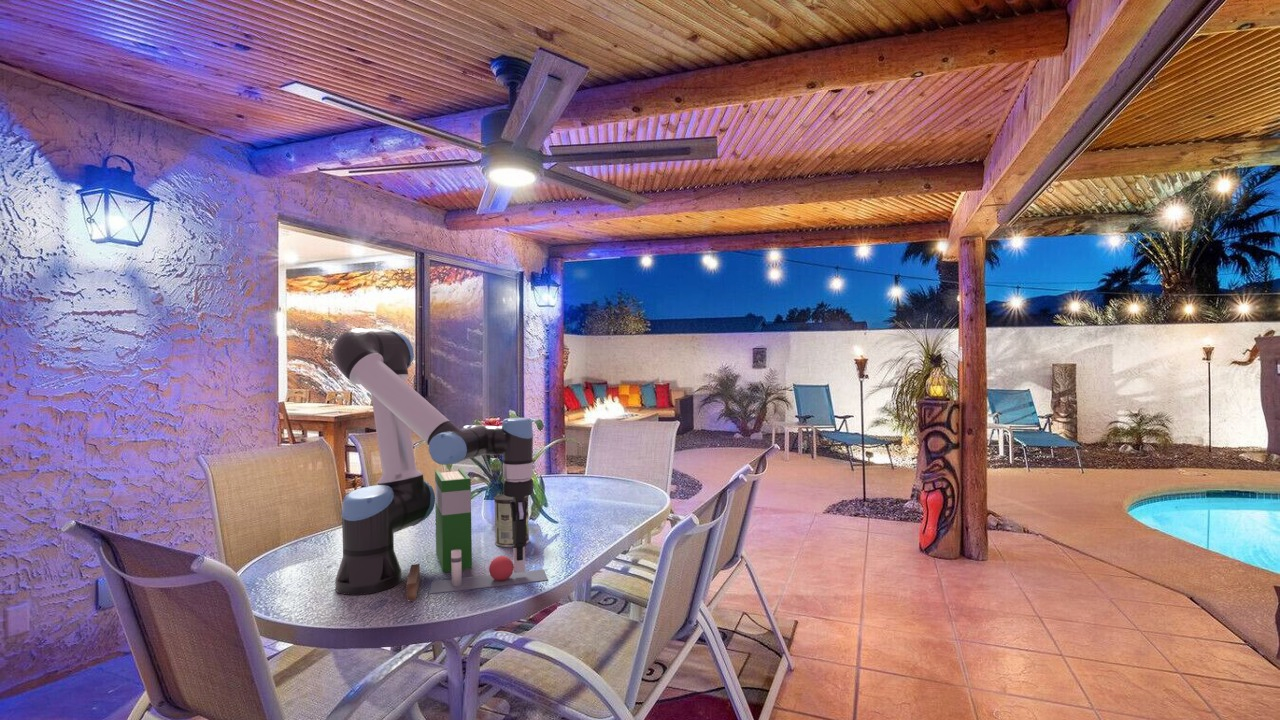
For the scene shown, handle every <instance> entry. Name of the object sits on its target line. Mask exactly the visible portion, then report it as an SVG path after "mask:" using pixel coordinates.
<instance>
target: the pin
mask: <svg viewBox="0 0 1280 720" xmlns="http://www.w3.org/2000/svg"><path fill="white" fill-rule="evenodd" d="M461 561H462V556H461V550H460V549H455V550H452V551H451V571H450V574H451V579H452V586H459V585H461V584H462V578H463V577H462V575H463V574H462V573H463V570H462V563H461Z"/></svg>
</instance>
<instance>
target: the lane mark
mask: <svg viewBox="0 0 1280 720" xmlns="http://www.w3.org/2000/svg"><path fill="white" fill-rule="evenodd" d="M547 581H549V578H548V576H547V573H546V571H545V569H534V570H533V569H532V570H525V572H519V573H514V572H513V573H512V575H511V576H510V577H509V578H508V579H506V580H504V581H497V580H495V579H493V578H492V577H491V575H481V576H480V575H479V576H471V577H462V584H461V585H459V586H452V578H451V579H443V580H434V581H431V587H430V595H434V594H443V593H451V592H461V591H468V590H477V589H483V588H484V589H485V588H495V587H502V586H503V587H504V586H511V585H512V586H513V585H520V584H531V583H535V582H536V583H539V582H547Z"/></svg>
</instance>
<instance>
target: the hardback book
mask: <svg viewBox="0 0 1280 720" xmlns="http://www.w3.org/2000/svg"><path fill="white" fill-rule="evenodd" d="M471 481H472V479H471V477H470V476H469V475H468V474H467V473H466V472H465V470H463V468H458V469H457V471H456V470H454V471H447V472H446V471H442V472H440V470H439V469H437V470H434V486H435V487H434V493H435V505H434V508H435V554H436V557H437V560H438V562H439V565H440V568H441V571H442V573H449V572H450V573H451V551H452V550H455V549H460V550H461V556H462V561H461V563H462V571H464V570H469V569H473V562H472V561H473V557H472V556H473V555H472V554H473V553H472V552H473V551H472V550H473V549H472V548H473V547H472V543H473V542H472V487H471V486H472V483H471Z"/></svg>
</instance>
